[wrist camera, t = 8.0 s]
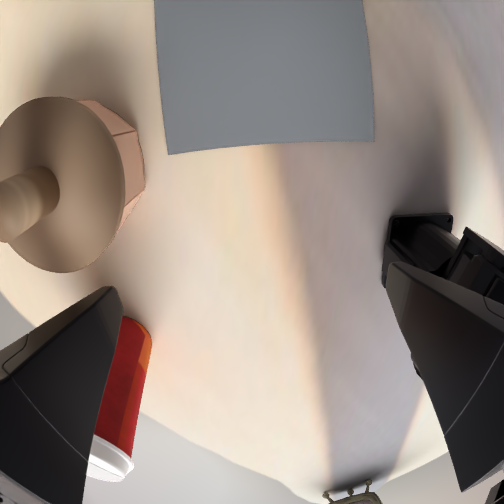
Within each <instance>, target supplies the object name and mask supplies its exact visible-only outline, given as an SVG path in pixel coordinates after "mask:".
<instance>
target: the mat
mask: <svg viewBox="0 0 504 504" xmlns="http://www.w3.org/2000/svg"><path fill="white" fill-rule="evenodd" d="M154 4H155V27H156V44H157V58H158V70H159V81H160V92H161V101H162V111H163V119H164V127H165V135H166V143H167V150H168V155H172V154H179V153H185V152H193V151H200V150H208V149H217V148H226V147H236V146H247V145H260V144H274V143H292V142H323V141H366V142H374V108H373V89H372V75H371V63H370V53H369V44H368V36H367V29H366V22H365V15H364V9H363V3H362V0H154Z"/></svg>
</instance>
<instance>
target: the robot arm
mask: <svg viewBox="0 0 504 504" xmlns="http://www.w3.org/2000/svg"><path fill="white" fill-rule="evenodd" d="M448 218H449V219H448ZM447 219H448V221H447ZM396 220H397V223H396V224H394V222H395V221H396ZM452 225H453V216H452V215H451V214H449V213H436V214H415V215H395V216H392V217H391V219H390V221H389V229H388V238H387V242H386V244H385V250H384V258H383V265H382V271H383V276H382V285H383V287H384V288H386V291H387V294H388V297H389V300H390V302H391V305H392V308H393V311H394V313H395V316H396V319H397V322H398V325H399V327H400V329H401V332H402V334H403V336H404V338H405V340H406V343H407V345H408V347H409V349H410V351H411V359H412V361H413V364H414V368H415V370H416V373H417V374H418V375H419V376H420V377H421V379H422V380H423V381H424V384H425V386H426V389H427V391H428V394H429V396H430V399H431V401H432V404H433V407H434V409H435V412H436V415H437V417H438V420H439V423H440V426H441V428H442V431H443V434H444V435H445V436H444V438H445V441H446V444H447V447H448V450H449V453H450V456H451V459H452V462H453V466H454V469H455V472H456V476H457V480H458V483H459V487H460V490H461V492H464V491H466V490H468V489H470V488H472V487H473V486H475V485H477V484H479V483H480V482H482V481H484V480H486V479H487V478H489V477H491V476H492V475H493V474H495V473H497V472H498V471H500V470H501V469H503V471H504V251H503V250H502V249H501V248H499V247H498V246H496V245H495V244H493V243H492V242H490V241H489V240H487V239H486V238H484V237H483V236H481V235H479V234H478V233H476V232H475V231H473V230H471V229H470V228H468V227H465V230H464V232H463V234H464V235H463V237H462V239H461V241H460V240H459V239H458V238H456V237H455V236H454V235H453V234H451V230H452ZM122 316H123V307H122V304H121V301H120V298H119V295H118V293H117V290H116V288H115V287H114V286H104V287H102V288H100V289H98V290H97V291H95V292H93V293H92V294H90V295H88V296H87V297H85V298H83V299H82V300H80V301H78V302H77V303H75V304H74V305H72V306H70V307H69V308H67V309H65V310H64V311H62V312H61V313H59V314H57V315H56V316H54V317H53V318H51V319H49V320H48V321H46V322H45V323H43V324H42V325H40V326H38V327H37V328H35V329H34V330H33V331H31V332H30V333H29V334H26V335H25V336H23V337H21V338H20V339H18V340H17V341H15V342H14V343H12V344H10V345H9V346H7V347H5V348H4V349H2V350H1V351H0V504H82V500H83V493H84V486H85V479H86V474H87V468H88V462H87V461H89V456H90V451H91V446H92V441H93V436H94V431H95V427H96V422H97V418H98V414H99V409H100V405H101V401H102V397H103V393H104V390H105V386H106V382H107V378H108V375H109V371H110V368H111V364H112V361H113V357H114V354H115V350H116V345H117V340H118V335H119V330H120V325H121V320H122ZM485 504H504V480H502V481H501V482H499V483H498V484H497V485H495V486H494V487H492V488H491V490H490V492H489V495H488V498H487V500H486V503H485Z"/></svg>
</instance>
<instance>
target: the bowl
mask: <svg viewBox="0 0 504 504" xmlns="http://www.w3.org/2000/svg"><path fill="white" fill-rule="evenodd" d="M75 101H77V102H80V103H81V104H83V105H85V106H87V107H88V108H89V109H91V110H92V111H93V112H94V113H95V114H96V115H97V116H98V117H99V118H100V119H101V120H102V121H103V122H104V124H105V125H106V127H107V128H108V130H109V131H110V133H111V135H112V137H113V139H114V141H115V143H116V145H117V148H118V150H119V153H120V156H121V160H122V164H123V168H124V175H125V192H126V195H125V206H124V211H123V216H122V219H121V222H120V225H119V228H118V230H117V232H118V231H119V229H120V228H121V226H122V224H123V223H124V221H125V220H126V218H127V216H128V215H129V214H130V212H131V211H132V210H133V208H134V206H135V205H136V203H137V201H138V199H139V198H140V196H141V195H142V193H143V192H144V190H145V187H146V186H145V181H144V162H143V155H142V151H141V147H140V145H139V142H138V137H137V131H136V132H135V129H134V128H133V127H131V126H130V125H129V124H127V123H126V121H125V120H124V119H123V118H121V117H120V116H119V115H118V114H116V113H115V112H113V111H111V110H109V109H107V108H105V107H104V106H102V105H101V104H99V103H98V102H97V101H94V100H75ZM117 232H116V233H117Z"/></svg>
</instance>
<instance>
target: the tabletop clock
mask: <svg viewBox="0 0 504 504" xmlns="http://www.w3.org/2000/svg"><path fill="white" fill-rule="evenodd" d="M371 484H372V480H367V481H366V485H367V488H366V491H365V493H361V494H357V495H353V496H352V494H353V493H354V491H353V490H352V489H350V490H348V494H349V495H350V496H349V497H346V498H343V499H340V500H337V501H333V500H332V499H331V498H329V494H328V493H324V494H323V498H327V499H328V500H329V502H330V503H329V504H382V502H381V500H380V499H379V497H378V496H377V495H376V494H375V493H374V492H369V485H371Z"/></svg>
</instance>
